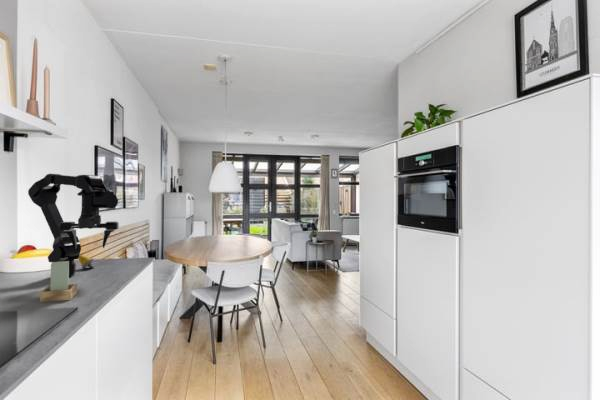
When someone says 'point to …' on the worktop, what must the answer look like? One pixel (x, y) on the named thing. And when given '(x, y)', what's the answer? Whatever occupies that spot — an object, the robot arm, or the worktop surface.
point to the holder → (58, 294)
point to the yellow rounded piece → (85, 261)
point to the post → (59, 276)
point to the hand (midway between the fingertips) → (89, 248)
